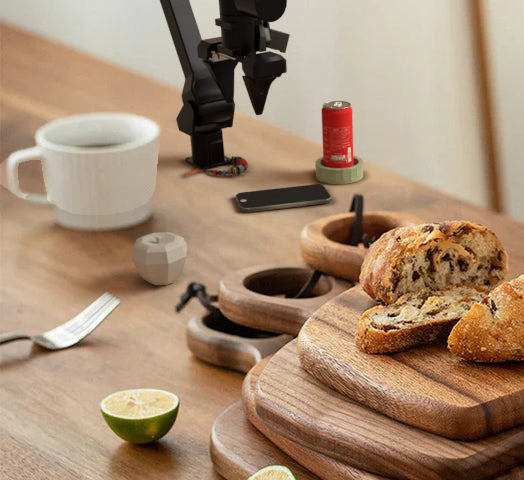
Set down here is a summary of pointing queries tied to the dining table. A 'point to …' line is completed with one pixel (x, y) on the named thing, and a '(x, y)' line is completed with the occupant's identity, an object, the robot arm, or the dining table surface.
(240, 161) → the necklace
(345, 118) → the beverage can
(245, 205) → the smartphone
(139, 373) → the dining table surface
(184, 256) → the apple
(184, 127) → the robot arm
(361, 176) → the ring
